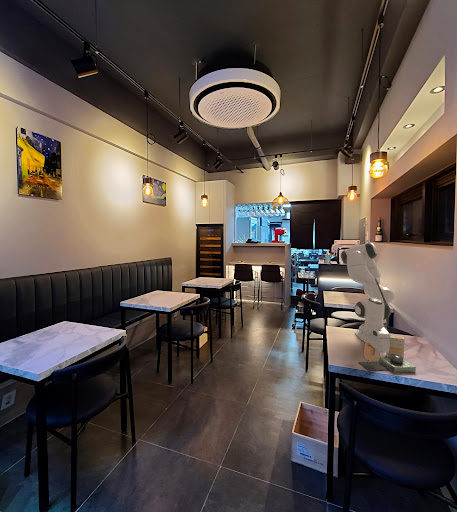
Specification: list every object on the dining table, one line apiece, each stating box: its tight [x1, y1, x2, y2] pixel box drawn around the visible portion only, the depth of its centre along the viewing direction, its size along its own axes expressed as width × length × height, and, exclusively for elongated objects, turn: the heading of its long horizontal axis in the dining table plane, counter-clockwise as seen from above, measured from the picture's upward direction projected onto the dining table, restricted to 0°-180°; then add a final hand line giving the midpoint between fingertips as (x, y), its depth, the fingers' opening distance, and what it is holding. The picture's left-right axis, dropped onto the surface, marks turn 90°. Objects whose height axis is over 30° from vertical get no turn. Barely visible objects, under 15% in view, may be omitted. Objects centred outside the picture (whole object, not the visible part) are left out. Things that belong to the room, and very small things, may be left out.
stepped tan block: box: [363, 342, 381, 361], centre depth 136 cm, size 4×6×8 cm
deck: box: [377, 354, 417, 374], centre depth 136 cm, size 12×12×6 cm
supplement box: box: [385, 334, 406, 360], centre depth 146 cm, size 8×5×13 cm, turn 66°
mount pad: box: [357, 360, 389, 372], centre depth 136 cm, size 9×11×1 cm
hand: (372, 353), depth 136 cm, fingers closed on stepped tan block, 4 cm apart
